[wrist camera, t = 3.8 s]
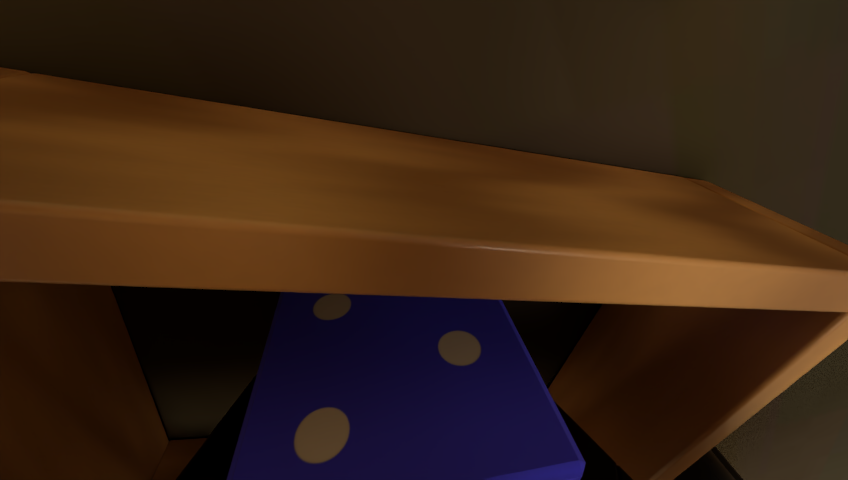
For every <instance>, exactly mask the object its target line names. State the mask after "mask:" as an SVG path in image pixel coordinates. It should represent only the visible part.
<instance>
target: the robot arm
mask: <svg viewBox="0 0 848 480" xmlns="http://www.w3.org/2000/svg"><path fill="white" fill-rule="evenodd" d="M256 376H257V374H256ZM256 376H255V377H254V378H253V379H252V381H251V382H250V383H249V385H248V386H247V387H246V389H245V390H244V391H243V392H242V394H241V395H240V396H239V398H238V399H237V400H236V402H235V403H234V404H233V405H232V407H231V408H230V409H229V411H228V412H227V413H226V415H225V416H224V417H223V418H222V420H221V421H220V422H219V424H218V425H217V426H216V428H215V429H214V430H213V431H212V433H211V434H210V435H209V437H208V438H207V439H206V441H205V442H204V443H203V444H202V446H201V447H200V448H199V450H198V451H197V452H196V454H195V455H194V456H193V457H192V459H191V460H190V461H189V463H188V464H187V465H186V467H185V468H184V469H183V470H182V472H181V473H180V474H179V476H178V477H177V478H176V480H227V476H228V473H229V469H230V466H231V462H232V459H233V456H234V452H235V449H236V445H237V442H238V438H239V435H240V431H241V428H242V424H243V421H244V417H245V414H246V410H247V407H248V403H249V400H250V397H251V393H252V390H253V386H254V383H255V379H256ZM554 402H555V401H554ZM555 404H556V406H557V408H558V410H559V412H560V414H561V416H562V418H563V420H564V422H565V424H566V426H567V427H568V429H569V431H570V433H571V435H572V437H573V439H574V441H575V443H576V445H577V447H578V449H579V451H580V453H581V455H582V457H583V458H584V460H585V462H586V464H585V468H584V472H583V475H582V478H581V479H580V480H633V479H632V478H631V477H630V476H629V475H628V474H627V473H626V472H625V471H624V470H623V469H622V468H621V467H620V466H619V465H616V462H615V461H614V460H613V459H612V458H611V457H610V456H609V455H608V454H607V453H606V452H605V451H604V450H603V449H602V448H601V447H600V446H599V445H598V444H597V443H596V442H595V441H594V440H593V439H592V438H591V437H590V436H589V435H588V434H587V433H586V432H585V431H584V430H583V429H582V428H581V427H580V426H579V425H578V424H577V423H576V422H575V421H574V420H573V419H572V418H571V417H570V416H569V415H568V414H567V413H566V412H565V411H564V410H563V409H562V408H561V407H560V406H559V405H558V404H557V403H556V402H555ZM673 480H743V479H742V478H741V476H740V475H739V474H738V473H737V472H736V470H735V469H734V468H733V467H732V466H731V465H730V463H729V462H728V461H727V460H726V459H725V457H724V456H723V455H722V454H721V453H720V452H719V450H718V449H717V448H716V447H715V446H714V447H713V448H712V449H711V450H709V451H708V452H707V453H706V454H704V455H703V456H702V457H701V458H699V459H698V460H697V461H696V462H694V463H693V464H692V465H691V466H689V467H688V468H687V469H686V470H685V471H683V472H682V473H681V474H680V475H678V476H677V477H676V478H675V479H673Z"/></svg>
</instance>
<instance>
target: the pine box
mask: <svg viewBox="0 0 848 480" xmlns="http://www.w3.org/2000/svg"><path fill="white" fill-rule="evenodd" d="M111 286H134V287H162V288H189V289H216V290H244V291H271V292H299V293H326V294H353V295H381V296H408V297H436V298H463V299H490V300H518V301H545V302H573V303H600V304H602V305H601V307H600V308H599V310H598V312H597V313H596V315H595V316H594V318H593V319H592V321H591V322H590V324H589V326H588V327H587V329H586V330H585V332H584V333H583V335H582V337H581V338H580V340H579V341H578V343H577V344H576V346H575V347H574V349H573V351H572V352H571V354H570V355H569V357H568V358H567V360H566V362H565V363H564V365H563V366H562V368H561V369H560V371H559V373H558V374H557V376H556V377H555V379H554V380H553V382H552V383H551V385H550V387H549V388H548V391H549V393H550V395H551V397H552V398H553V400H554V401H555V402H556V403H557V404H558V405H559V406H560V407H561V408H562V409H563V410H564V411H565V412H566V413H567V414H568V415H569V416H570V417H571V418H572V419H573V420H574V421H575V422H576V423H577V424H578V425H579V426H580V427H581V428H582V429H583V430H584V431H585V432H586V433H587V434H588V435H589V436H590V437H591V438H592V439H593V440H594V441H595V442H596V443H597V444H598V445H599V446H600V447H601V448H602V449H603V450H604V451H605V452H606V453H607V454H608V455H609V456H610V457H611V458H612V459H613V460H614V461H615V462H616V465H619V466H620V467H621V468H622V469H623V470H624V471H625V472H626V473H627V474H628V475H629V476H630V477H631V478H632V479H633V480H673V479H675V478H676V477H677V476H678V475H680V474H681V473H682V472H683V471H685V470H686V469H687V468H688V467H689V466H691V465H692V464H693V463H694V462H696V461H697V460H698V459H699V458H701V457H702V456H703V455H704V454H706V453H707V452H708V451H709V450H711V449H712V448H713V447H714V446H716V445H717V444H718V443H719V442H721V441H722V440H723V439H724V438H726V437H727V436H728V435H729V434H731V433H732V432H733V431H734V430H736V429H737V428H738V427H739V426H741V425H742V424H743V423H744V422H745V421H747V420H748V419H749V418H750V417H752V416H753V415H754V414H755V413H757V412H758V411H759V410H760V409H762V408H763V407H764V406H765V405H767V404H768V403H769V402H770V401H772V400H773V399H774V398H775V397H777V396H778V395H779V394H780V393H782V392H783V391H784V390H785V389H787V388H788V387H789V386H790V385H792V384H793V383H794V382H795V381H797V380H798V379H799V378H800V377H801V376H803V375H804V374H805V373H806V372H808V371H809V370H810V369H811V368H813V367H814V366H815V365H816V364H818V363H819V362H820V361H821V360H823V359H824V358H825V357H826V356H828V355H829V354H830V353H831V352H833V351H834V350H835V349H836V348H838V347H839V346H840V345H841V344H843V343H844V342H845V341H846V340H848V245H846V244H844V243H842V242H840V241H838V240H835V239H833V238H831V237H829V236H827V235H824V234H822V233H820V232H818V231H816V230H813V229H811V228H809V227H807V226H805V225H802V224H800V223H798V222H796V221H794V220H791V219H789V218H787V217H785V216H782V215H780V214H778V213H776V212H774V211H771V210H769V209H767V208H765V207H763V206H760V205H758V204H756V203H754V202H752V201H749V200H747V199H745V198H743V197H741V196H738V195H736V194H734V193H732V192H730V191H727V190H725V189H723V188H721V187H718V186H716V185H714V184H712V183H710V182H707V181H703V180H697V179H691V178H683V177H679V176H673V175H666V174H660V173H654V172H648V171H641V170H635V169H629V168H623V167H616V166H610V165H604V164H598V163H591V162H585V161H579V160H573V159H567V158H560V157H554V156H548V155H542V154H535V153H529V152H523V151H517V150H510V149H504V148H498V147H492V146H485V145H479V144H473V143H467V142H461V141H454V140H448V139H442V138H436V137H429V136H423V135H417V134H411V133H404V132H398V131H392V130H386V129H379V128H373V127H367V126H361V125H355V124H348V123H342V122H336V121H330V120H323V119H317V118H311V117H305V116H298V115H292V114H286V113H280V112H273V111H267V110H261V109H255V108H248V107H242V106H236V105H230V104H224V103H217V102H211V101H205V100H199V99H192V98H186V97H180V96H174V95H167V94H161V93H155V92H149V91H142V90H136V89H130V88H124V87H118V86H111V85H105V84H99V83H93V82H86V81H80V80H74V79H68V78H61V77H55V76H49V75H43V74H36V73H33V74H30V73H29V72H26V71H21V70H15V69H9V68H2V67H0V480H176V478H177V477H178V476H179V474H180V473H181V472H182V470H183V469H184V468H185V467H186V465H187V464H188V463H189V461H190V460H191V459H192V457H193V456H194V455H195V454H196V452H197V451H198V450H199V448H200V447H201V446H202V444H203V443H204V442H205V441H206V439H207V438H200V439H183V440H170V441H169V440H168V438H167V435H166V432H165V430H164V427H163V424H162V422H161V419H160V416H159V414H158V411H157V408H156V406H155V403H154V400H153V398H152V395H151V392H150V390H149V387H148V384H147V382H146V379H145V376H144V374H143V371H142V368H141V366H140V363H139V360H138V358H137V355H136V352H135V350H134V347H133V344H132V342H131V339H130V336H129V334H128V331H127V328H126V326H125V323H124V320H123V318H122V315H121V312H120V310H119V307H118V304H117V302H116V299H115V296H114V294H113V291H112V288H111Z"/></svg>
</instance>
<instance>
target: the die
mask: <svg viewBox="0 0 848 480" xmlns="http://www.w3.org/2000/svg"><path fill="white" fill-rule="evenodd" d="M585 464H586V462H585V460H584V458H583V457H582V455H581V453H580V451H579V449H578V447H577V445H576V443H575V441H574V439H573V437H572V435H571V433H570V431H569V429H568V427H567V426H566V424H565V422H564V420H563V418H562V416H561V414H560V412H559V410H558V408H557V406H556V404H555V402H554V400H553V398H552V397H551V395H550V393H549V391H548V389H547V387H546V385H545V383H544V381H543V379H542V377H541V375H540V373H539V371H538V369H537V367H536V366H535V364H534V362H533V360H532V358H531V356H530V354H529V352H528V350H527V348H526V346H525V344H524V342H523V340H522V338H521V336H520V335H519V333H518V331H517V329H516V327H515V325H514V323H513V321H512V319H511V317H510V315H509V313H508V311H507V309H506V307H505V306H504V304H503V302H502V300H490V299H463V298H436V297H408V296H381V295H353V294H326V293H299V292H280V296H279V299H278V303H277V306H276V310H275V313H274V317H273V320H272V324H271V327H270V331H269V334H268V338H267V341H266V345H265V348H264V351H263V355H262V358H261V362H260V365H259V369H258V372H257V376H256V379H255V383H254V386H253V390H252V393H251V397H250V400H249V403H248V407H247V410H246V414H245V417H244V421H243V424H242V428H241V431H240V435H239V438H238V442H237V445H236V449H235V452H234V456H233V459H232V462H231V466H230V469H229V473H228V476H227V480H580V479H581V478H582V475H583V472H584V468H585Z"/></svg>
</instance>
